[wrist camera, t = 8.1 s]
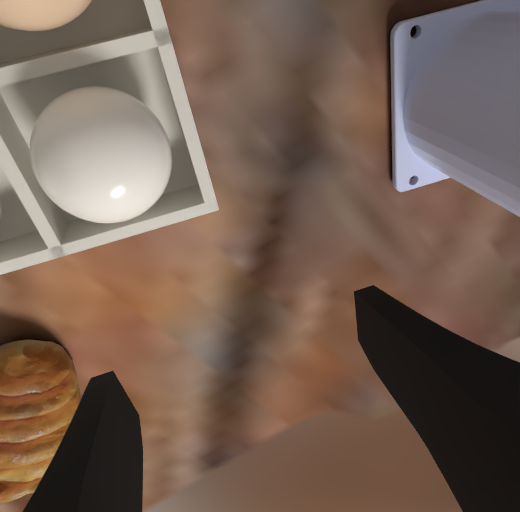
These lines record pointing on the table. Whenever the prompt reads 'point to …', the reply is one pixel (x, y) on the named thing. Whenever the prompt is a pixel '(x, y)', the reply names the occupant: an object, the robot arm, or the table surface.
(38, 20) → the brown egg
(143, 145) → the white egg
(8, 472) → the pastry
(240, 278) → the table surface
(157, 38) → the egg carton
